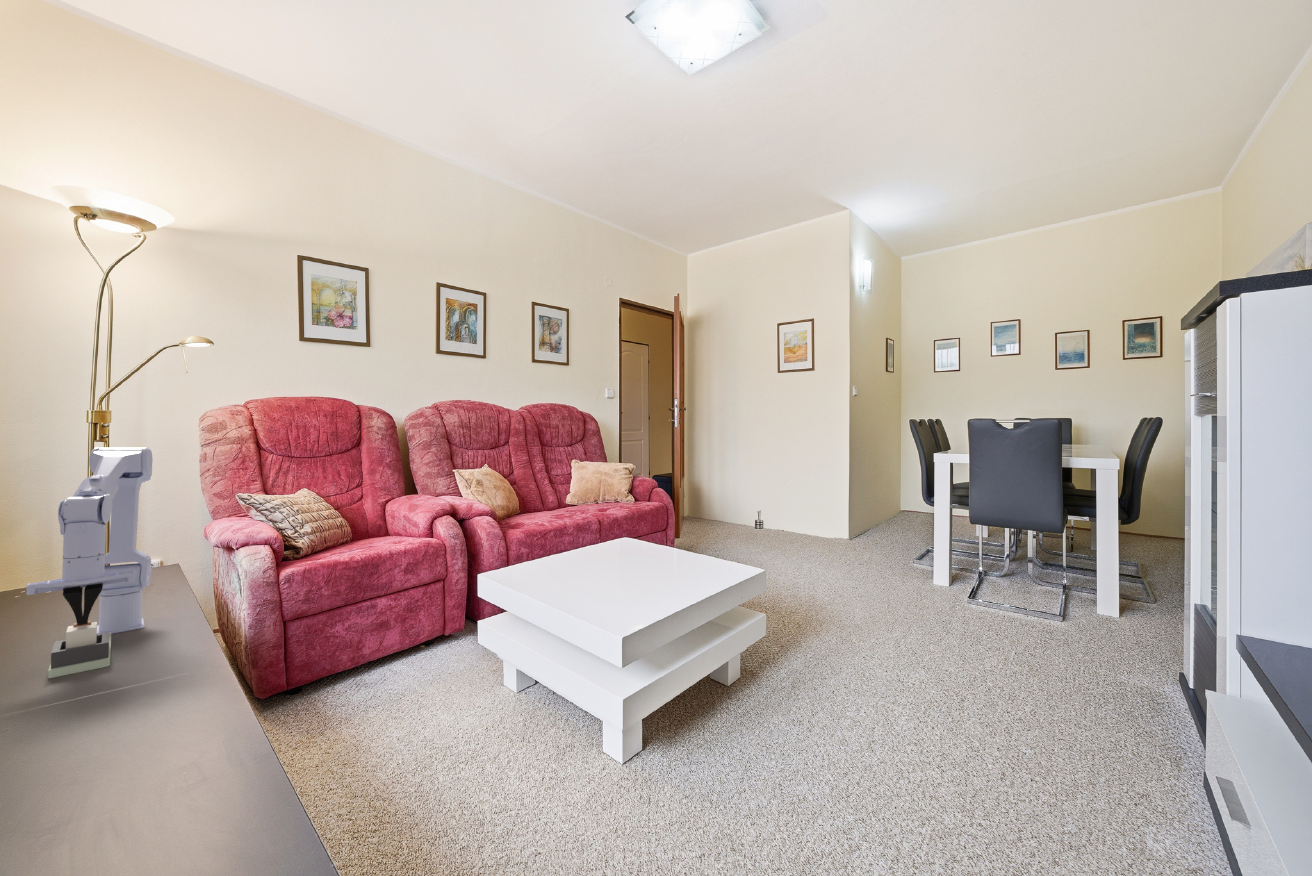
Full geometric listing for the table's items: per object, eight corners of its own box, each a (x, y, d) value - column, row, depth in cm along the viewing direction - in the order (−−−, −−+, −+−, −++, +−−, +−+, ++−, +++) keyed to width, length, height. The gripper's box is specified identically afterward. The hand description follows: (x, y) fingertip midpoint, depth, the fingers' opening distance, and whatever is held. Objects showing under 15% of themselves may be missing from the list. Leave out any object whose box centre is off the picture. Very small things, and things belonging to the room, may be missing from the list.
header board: (57, 650, 111) (57, 629, 111) (111, 640, 117) (111, 620, 117) (48, 678, 97) (48, 654, 97) (109, 665, 103) (110, 643, 103)
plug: (67, 656, 104) (68, 623, 104) (96, 650, 107) (97, 619, 107) (65, 663, 101) (66, 629, 101) (95, 657, 103) (96, 624, 104)
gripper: (25, 564, 96) (23, 638, 96) (135, 553, 107) (134, 619, 106) (29, 558, 101) (27, 628, 101) (135, 548, 111) (133, 612, 111)
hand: (82, 623), depth 104 cm, fingers closed
